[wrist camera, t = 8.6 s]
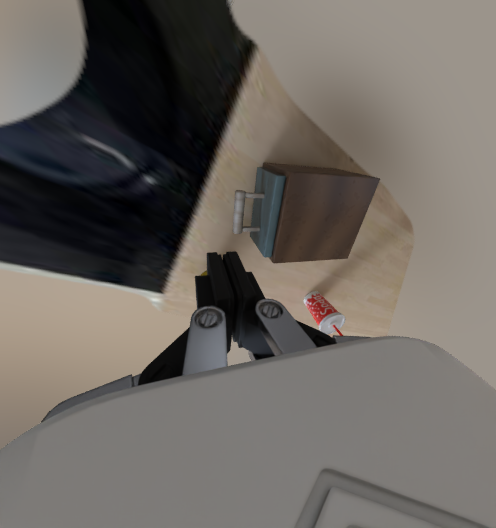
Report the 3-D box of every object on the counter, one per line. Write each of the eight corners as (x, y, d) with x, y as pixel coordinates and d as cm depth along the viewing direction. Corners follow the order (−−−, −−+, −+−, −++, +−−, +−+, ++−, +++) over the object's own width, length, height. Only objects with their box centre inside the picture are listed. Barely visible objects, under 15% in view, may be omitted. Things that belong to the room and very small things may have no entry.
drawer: (226, 236, 35) (236, 259, 29) (230, 164, 29) (243, 173, 23) (309, 234, 40) (334, 253, 33) (327, 172, 34) (360, 181, 27)
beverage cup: (325, 287, 51) (366, 331, 40) (318, 305, 54) (354, 350, 43) (304, 290, 49) (341, 336, 38) (298, 308, 52) (330, 356, 41)
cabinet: (254, 236, 38) (273, 263, 30) (263, 162, 31) (290, 171, 23) (316, 235, 41) (347, 258, 34) (336, 168, 35) (380, 178, 27)
